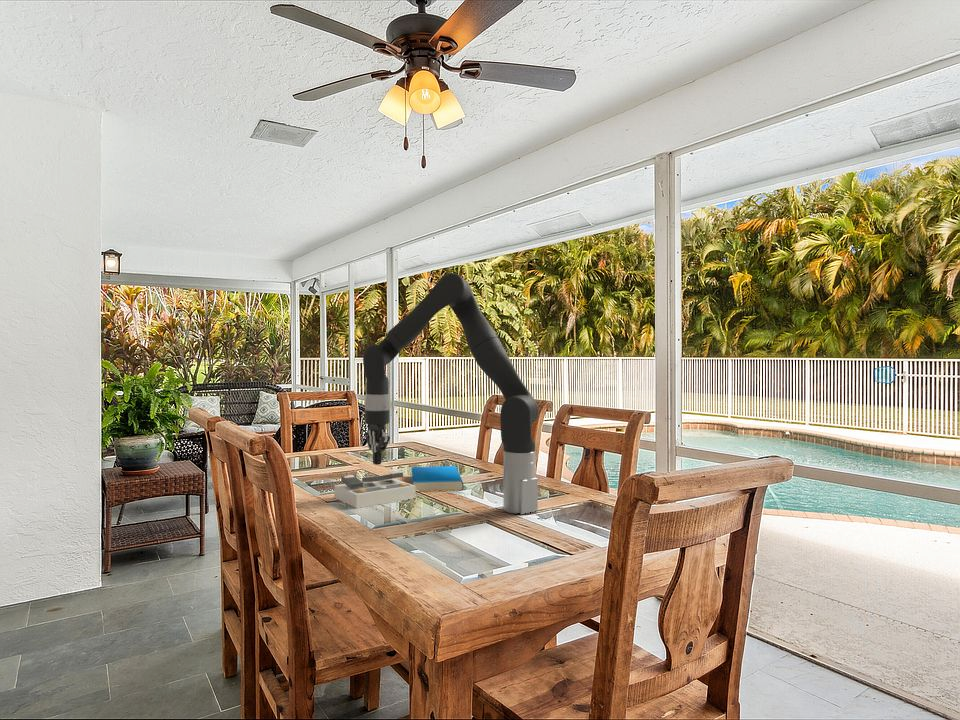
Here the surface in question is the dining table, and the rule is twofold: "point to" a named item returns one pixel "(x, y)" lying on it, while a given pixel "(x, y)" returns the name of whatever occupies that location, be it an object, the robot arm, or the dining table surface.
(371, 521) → the dining table surface
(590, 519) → the dining table surface
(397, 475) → the rocker
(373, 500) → the switch unit
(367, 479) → the rocker
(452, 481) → the book
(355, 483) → the rocker
